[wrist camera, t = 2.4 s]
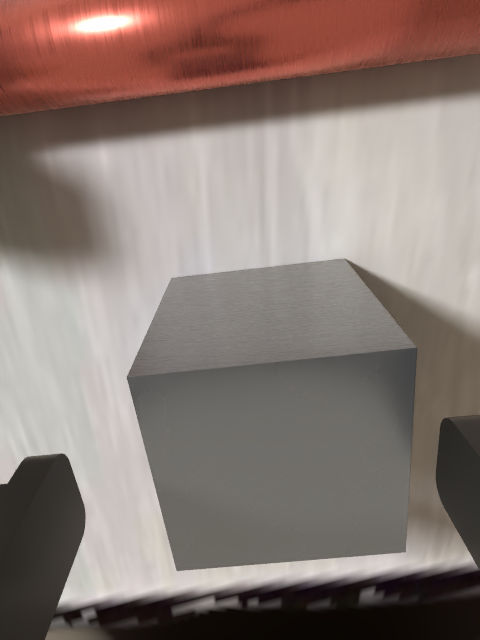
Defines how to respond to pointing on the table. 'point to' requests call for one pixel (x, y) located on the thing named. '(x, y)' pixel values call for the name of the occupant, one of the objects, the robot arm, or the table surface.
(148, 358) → the grey bevelled cube
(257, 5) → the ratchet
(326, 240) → the table surface
